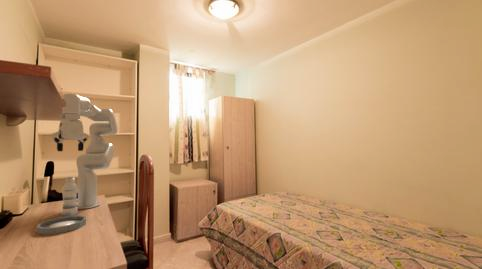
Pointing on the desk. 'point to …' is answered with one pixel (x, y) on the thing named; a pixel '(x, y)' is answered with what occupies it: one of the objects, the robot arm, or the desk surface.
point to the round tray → (61, 225)
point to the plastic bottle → (69, 198)
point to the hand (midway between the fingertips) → (70, 150)
